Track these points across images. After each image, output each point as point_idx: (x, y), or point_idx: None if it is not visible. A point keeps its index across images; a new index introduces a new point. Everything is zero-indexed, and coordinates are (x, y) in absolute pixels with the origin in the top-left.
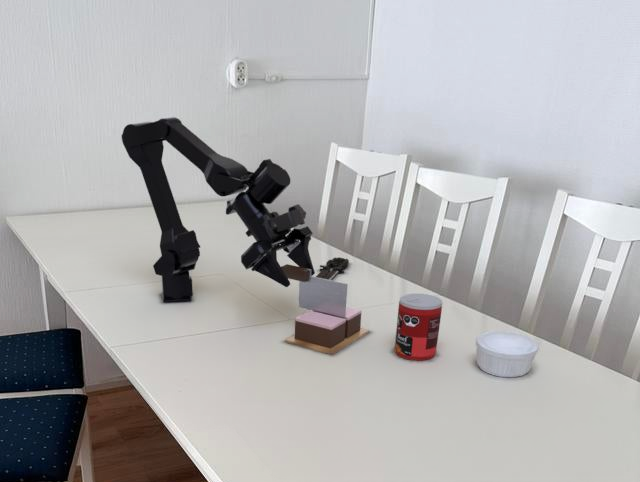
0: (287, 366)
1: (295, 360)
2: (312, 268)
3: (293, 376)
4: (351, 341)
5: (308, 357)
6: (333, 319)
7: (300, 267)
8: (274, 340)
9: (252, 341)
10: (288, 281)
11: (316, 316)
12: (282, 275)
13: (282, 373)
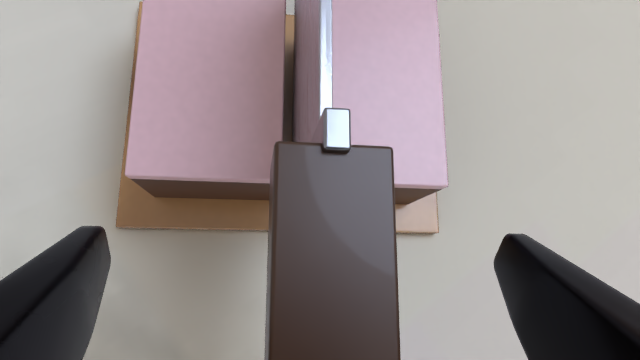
0: (588, 111)
1: (537, 113)
2: (65, 252)
3: (627, 61)
4: (291, 15)
5: (490, 89)
6: (351, 25)
7: (291, 280)
8: (446, 278)
9: (510, 347)
10: (533, 245)
11: (365, 109)
12: (615, 293)
13: (635, 98)
